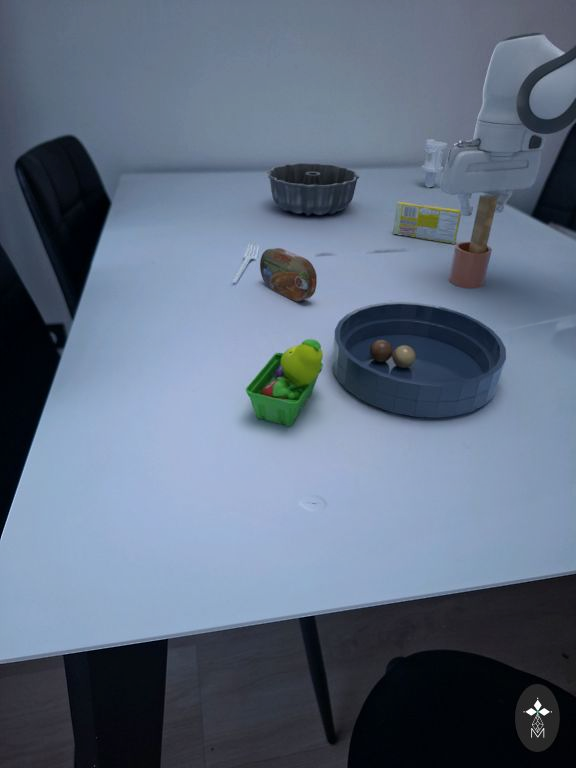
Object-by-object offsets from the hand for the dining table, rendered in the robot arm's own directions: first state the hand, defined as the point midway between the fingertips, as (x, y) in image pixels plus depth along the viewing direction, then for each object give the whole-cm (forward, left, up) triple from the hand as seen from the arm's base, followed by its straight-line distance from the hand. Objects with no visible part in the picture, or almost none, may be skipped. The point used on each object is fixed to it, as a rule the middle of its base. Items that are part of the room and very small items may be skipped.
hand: (481, 213), depth 106 cm
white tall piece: (-40, -73, -15) cm, 85 cm away
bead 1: (+34, +22, -13) cm, 42 cm away
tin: (+38, -8, -15) cm, 42 cm away
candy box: (-8, -28, -15) cm, 33 cm away
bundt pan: (+9, -62, -15) cm, 64 cm away
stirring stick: (0, +1, -14) cm, 14 cm away
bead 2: (+31, +25, -13) cm, 42 cm away
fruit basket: (+52, +28, -15) cm, 61 cm away
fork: (+42, -24, -15) cm, 51 cm away
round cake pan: (+30, +26, -15) cm, 42 cm away
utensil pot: (0, 0, -15) cm, 15 cm away
